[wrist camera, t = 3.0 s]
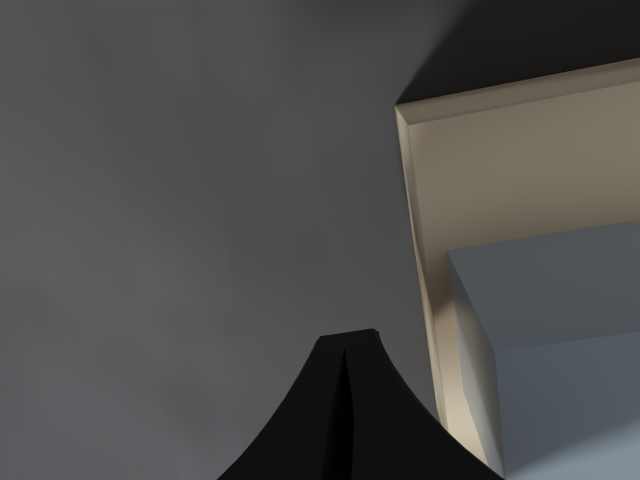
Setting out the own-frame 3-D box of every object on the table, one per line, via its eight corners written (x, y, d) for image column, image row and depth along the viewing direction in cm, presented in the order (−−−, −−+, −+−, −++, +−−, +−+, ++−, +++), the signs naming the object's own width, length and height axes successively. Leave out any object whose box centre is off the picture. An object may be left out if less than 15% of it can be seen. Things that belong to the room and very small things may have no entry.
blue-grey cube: (625, 368, 13) (738, 506, 9) (463, 390, 13) (510, 529, 10) (629, 221, 11) (766, 314, 8) (447, 250, 12) (494, 351, 8)
